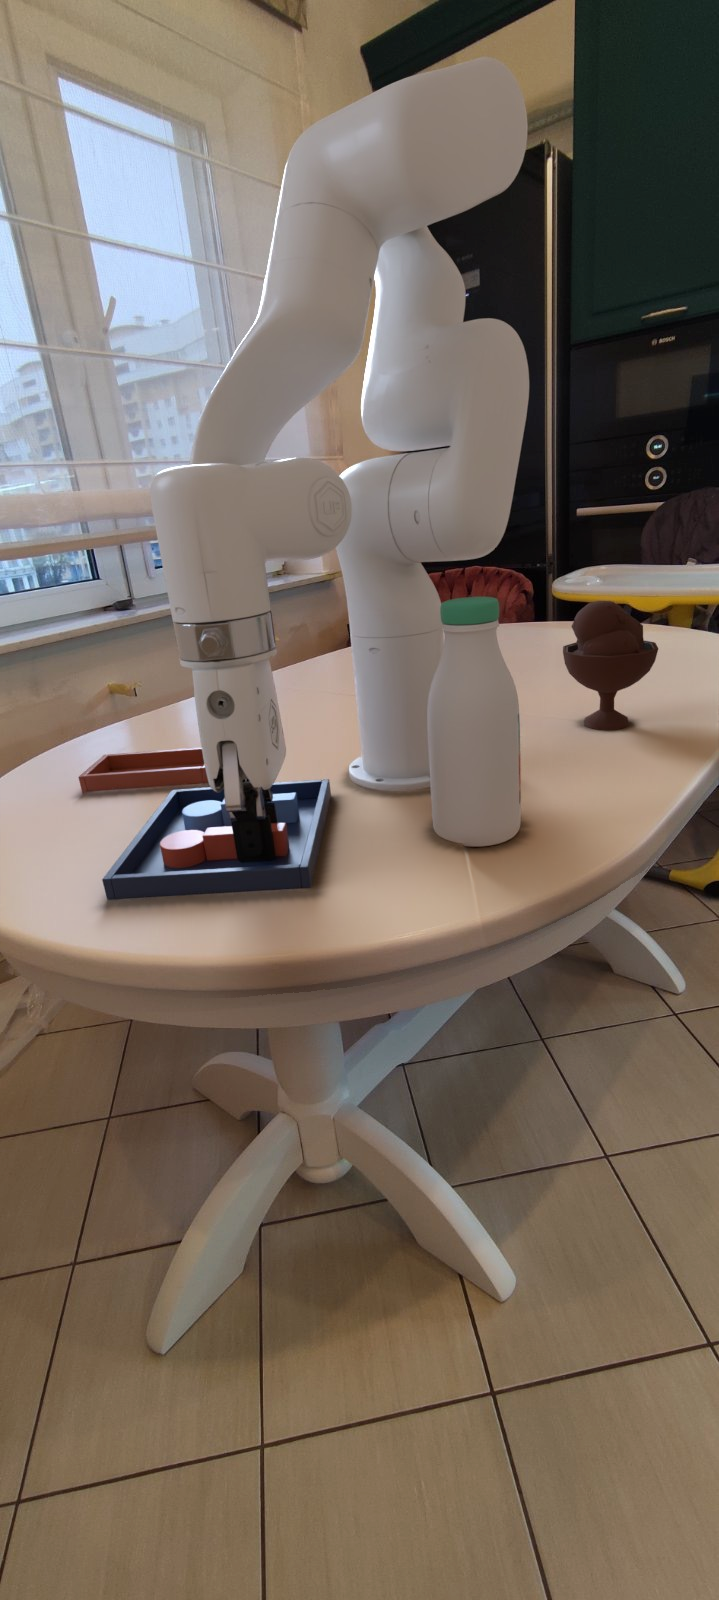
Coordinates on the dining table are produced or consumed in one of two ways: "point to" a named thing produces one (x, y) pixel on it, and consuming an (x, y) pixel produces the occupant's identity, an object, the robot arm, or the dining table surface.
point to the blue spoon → (217, 816)
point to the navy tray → (150, 877)
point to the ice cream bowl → (608, 657)
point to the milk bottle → (473, 730)
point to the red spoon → (211, 845)
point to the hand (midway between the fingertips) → (259, 851)
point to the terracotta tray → (145, 770)
